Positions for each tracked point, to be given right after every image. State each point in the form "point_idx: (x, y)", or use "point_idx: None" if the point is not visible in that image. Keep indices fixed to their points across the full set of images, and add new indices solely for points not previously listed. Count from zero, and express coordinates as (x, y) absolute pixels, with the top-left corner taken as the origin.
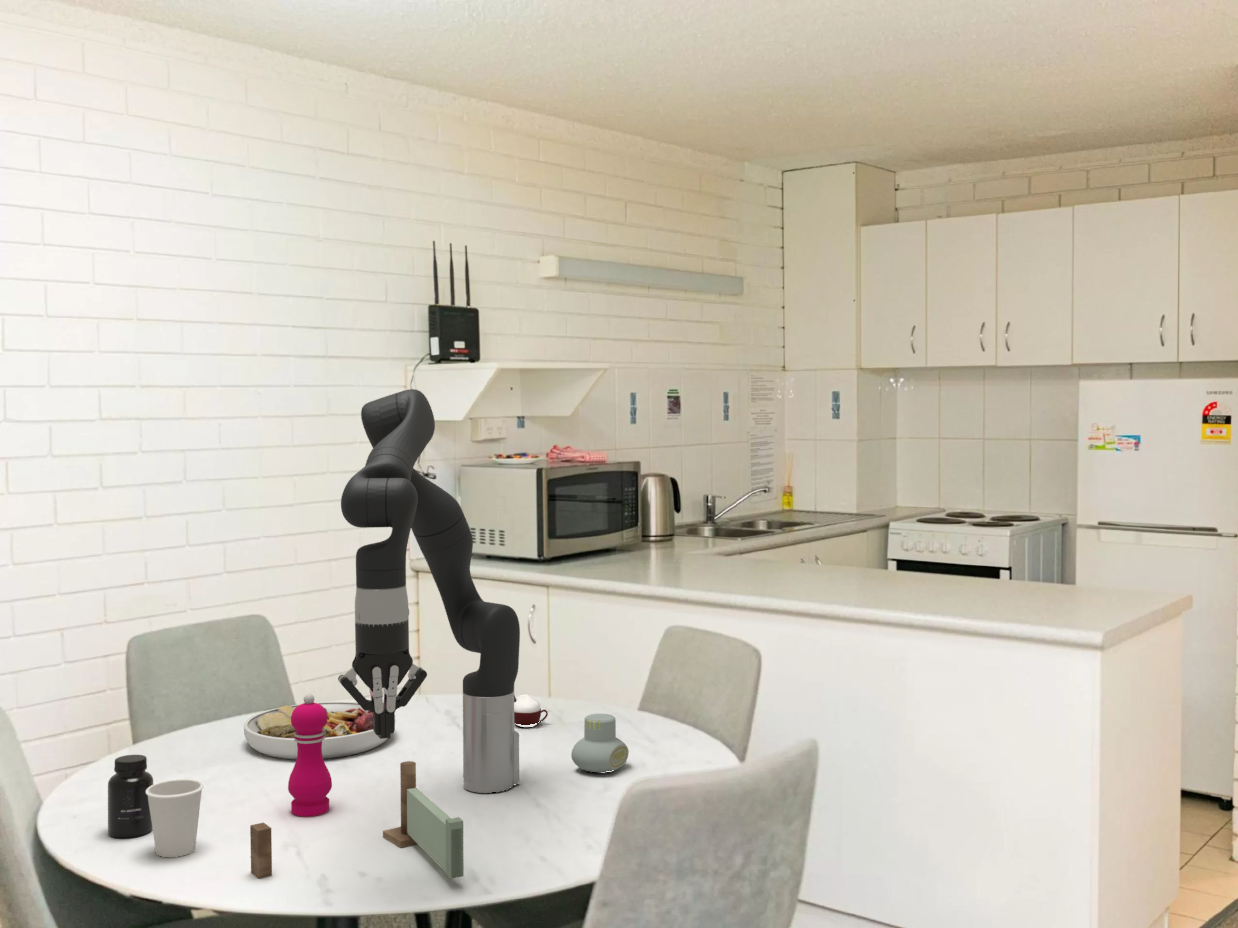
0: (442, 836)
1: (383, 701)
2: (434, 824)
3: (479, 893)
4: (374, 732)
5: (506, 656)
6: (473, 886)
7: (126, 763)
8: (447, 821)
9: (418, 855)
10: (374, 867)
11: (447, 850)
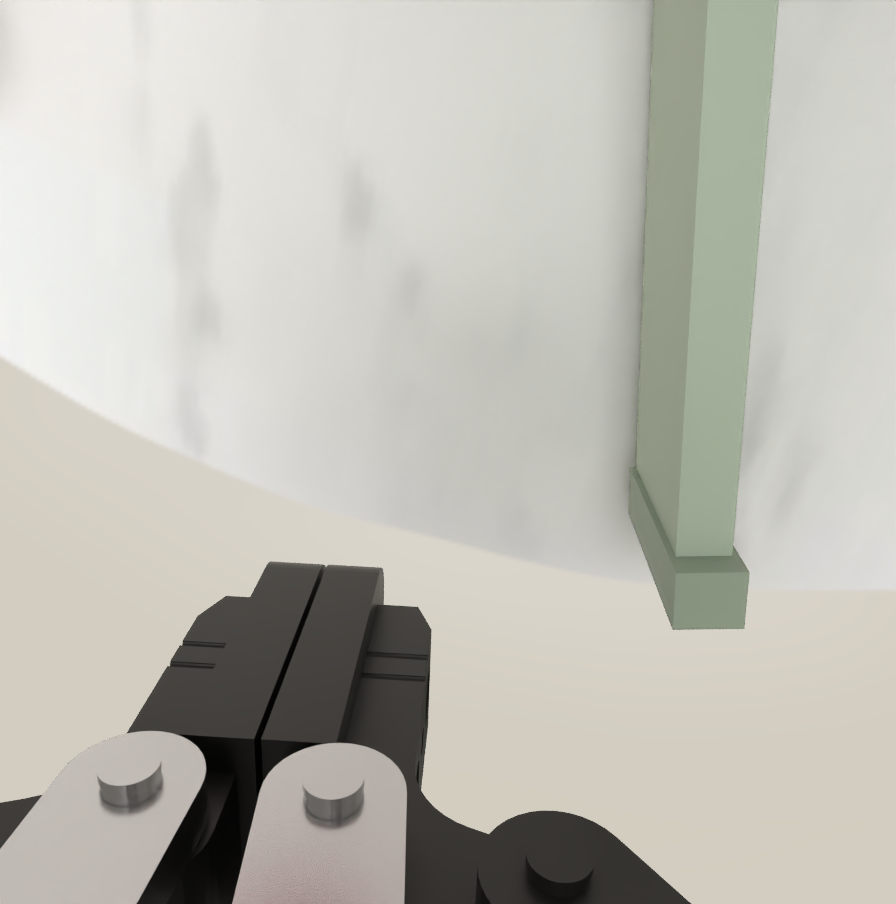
0: (663, 466)
1: (248, 837)
2: (674, 358)
3: None
4: (223, 600)
5: None
6: None
7: None
8: (673, 598)
9: (637, 90)
10: (419, 151)
11: (647, 529)
